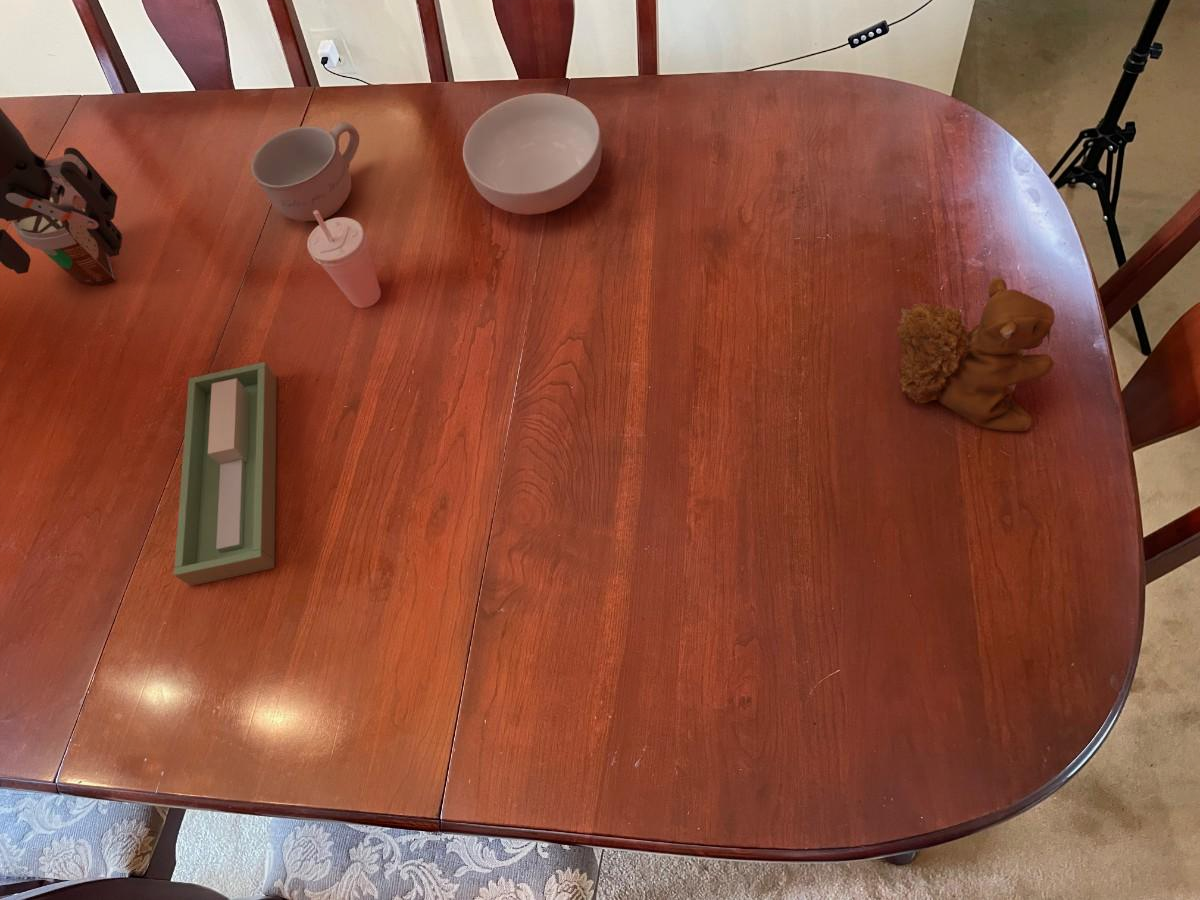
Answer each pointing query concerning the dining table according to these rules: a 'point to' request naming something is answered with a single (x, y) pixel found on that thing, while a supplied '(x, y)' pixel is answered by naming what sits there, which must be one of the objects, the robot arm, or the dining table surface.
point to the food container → (67, 246)
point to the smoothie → (345, 258)
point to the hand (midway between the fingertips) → (70, 258)
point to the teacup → (306, 170)
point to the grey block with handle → (229, 458)
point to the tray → (203, 475)
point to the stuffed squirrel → (976, 356)
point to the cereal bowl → (533, 152)
